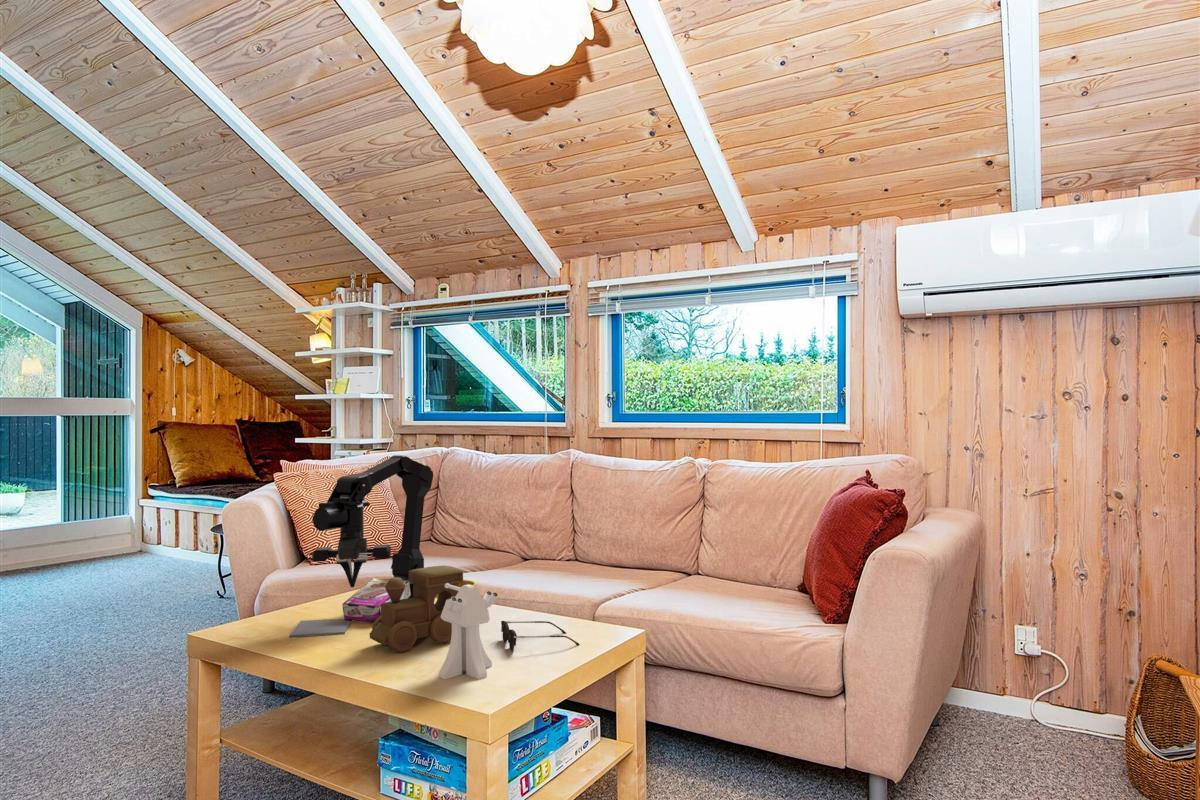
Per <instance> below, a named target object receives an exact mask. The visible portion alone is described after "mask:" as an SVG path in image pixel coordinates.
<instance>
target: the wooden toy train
mask: <svg viewBox="0 0 1200 800" xmlns="http://www.w3.org/2000/svg"><path fill="white" fill-rule="evenodd" d="M388 579H389V581H388V583H387V584H386V586H385V589H386V591H387V593H388V595H389V597H390V599H391V601H390V602H386V603H382V604H381V616H380V617H379V618H377V619H376V621H375V622H374V623H372V628H371V631H370V632H369V639H371V640H373V641H374V642H377V643H378V644H380V645H382V646H385V645H388V646H389V647H390V649H391V650H392V651H394V652H396V653H405V652H407V651H410V649H411V648H413V646H414V645H415V644H416V641H417V639H419V638H421V639H422V638H425V637H429V636H430V638H431V639H432V640H433V641H434V642H435V643H437V644H440V645H443V644H446V643H449V642H451V636H452V623H449V622H446V621H444V620H443V619H442V618H440V617H441V614H442V611H443V608H444V606H445V602H446V600H448V599H451V597H455V596H456V595H457V593H458V592H459V591H457V590H454V589H450V588H446V587H445V584H446V583H449V584H450V585H453V586H456V587H459V583H461V582H463V580H464V571H463V570H462V569H460V568H457V567H455V566H451V565H435V566H433V565H432V566H427V567H424V568H419V569H414V570H410V571H409V582H412V583H413V594H414V598H407V599H401V600H400V598H401V596H402V594H403V591H404V589H405V587H406V585H405V584H404V582H403V581H402V580H401V578H394V577H391V578H388ZM437 594H438V599H437V598H436V596H437ZM435 600H436V602H435Z"/></svg>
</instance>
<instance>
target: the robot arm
mask: <svg viewBox="0 0 1200 800" xmlns="http://www.w3.org/2000/svg"><path fill="white" fill-rule="evenodd" d="M395 475H396V476H397V477H398V478H399V479H401V486H402V489H403V491H404V493H405V496H406V499H405V507H404V508H405V509H404V517H403V518H404V519H403V525H402V526H403V528H402V536H401V537H402V538H401V546H400V549H399V550H398V552H397V553H393V554H392V552H391V551H392V549H391V548H392V547H391V546H390V545H389V544H375V545H374V546H373V547H372V548H368V539H367V538H366V537H365V538H364V534H365V532H364V508H365V507H366V508H367V507H369V506H370V505H371V504H370V503H369V501H367V500H366V499H365V497H367V496H368V495H369V494H370V493H371V492H372V490H373V488H374V487H375V486H376V485H378V484H381V483H382V482H384V481H386V480H388V479H390V478H391V477H393V476H395ZM433 479H434V472H433V470H432V468H431V467H430V466H429V465H428V464H427V465H425V464H423V463H421V462H420V461H419V462H418V461H416V460H413V459H412V458H410V457H409V456H407V455H404V454H403V455H399V454H398V455H392V456H390V457H389V458H387V459H385V460H384V461H382V462H380V463H378V464H376V465H374V466H372V467H370V468H368V469H366V470H364V471H362V472H357V473H351V474H347V475H346V474H345V475H343V476H341V477H339V478H337V480H336V484H335V485H334V488H333V490H332V492H331V493H330V496H329V498H328V499H327V502H319V503H318V508H317V509H316V510H315V511H314V513H313V516H312V523H313V526H314V528H315V529H316V530H317V531H319V532H324V531H329V530H334V529H335V530H336V529H340V530H339V531H340V532H339V535H340V537H339V541H338V545H337V549H332V546H323V547H316V548H315V549H314V550H313V551H312V554H311V560H312V562H313V563H321V562H326V561H327V560H328V559H330V558H331V559H333V558H335V559H336V562H335V564H336V565H340V566H341V568H342V569H343V571H344V573H345V575H346V579H347V581H348V584H349V587H350V588H354V587H355V585H356V583H357V579H358V576H359V573H360V570H361V567H362V565H363V564H365V563H367V561H369V557H374V559H376V560H382V559H383V560H386V559H390V557H391V554H392V558H391V560H392V561H391V566H390V569H391V574H392V576H393V578H401V580H409V571H410V570H414V569H419V568H425V558H424V556H423V554H422V552H421V549H420V547H421V546H420V545H421V538H422V537H421V535H422V525H423V516H424V515H423V514H424V507H425V506H424V504H425V499H426V495H428V493H429V492H430V490H431V489H432V484H433ZM352 560H354V561H353V567H352ZM410 592H411V596H410V597H409V598H414V594H413V583H412V582H410Z"/></svg>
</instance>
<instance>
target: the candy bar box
mask: <svg viewBox="0 0 1200 800" xmlns="http://www.w3.org/2000/svg"><path fill="white" fill-rule="evenodd" d="M389 579H390V578H385V577H384V578H383V577H373V578H371V580H369V581H368V582H366V584H365V585H363V586H362V587H361V588H360V589H359V590H357V591H356V592H355V593H354V594H353V595H352V596H350V597H348V598H347V600H345V601H344V602H343V603H342V612H343V618H344V620H349V621H352V622H364V623H372V624H374V622H375V621H376V619H377V618H379V617H380V616H381V604H382V603H386V602H390V601H391V599H390V597H389V595H388V593H387V591H386V589H385V586H386V584H387V583H388V581H389ZM402 581H403V582H404V584H405V585H406V587H405V589H404V591H403V594H402V596H401V598H400V600H401V599H407V598H409V597H410V596H411V592H410V582H409V580H402Z"/></svg>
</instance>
